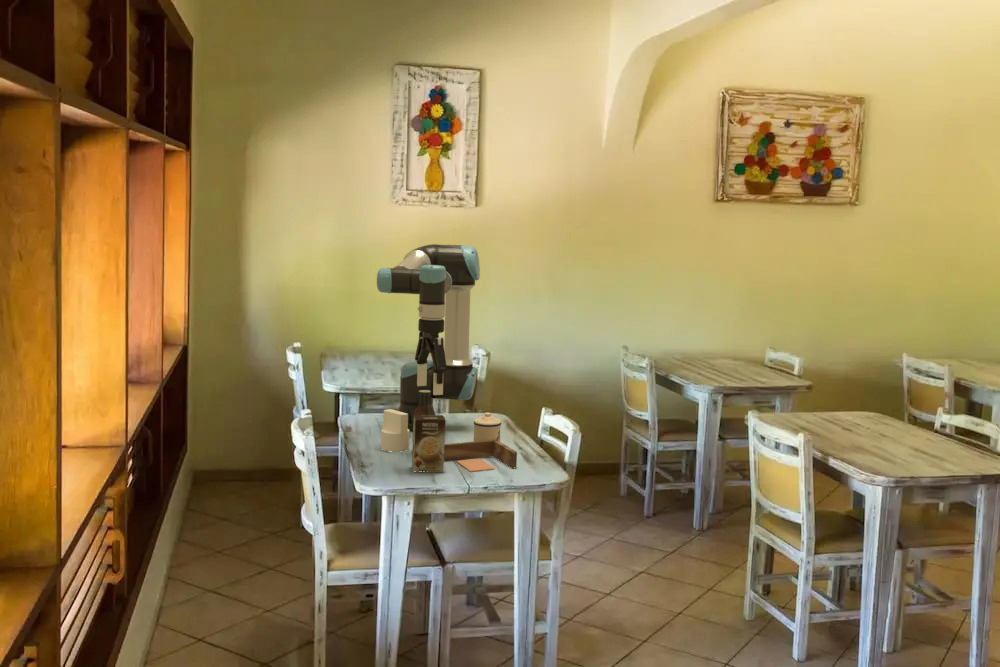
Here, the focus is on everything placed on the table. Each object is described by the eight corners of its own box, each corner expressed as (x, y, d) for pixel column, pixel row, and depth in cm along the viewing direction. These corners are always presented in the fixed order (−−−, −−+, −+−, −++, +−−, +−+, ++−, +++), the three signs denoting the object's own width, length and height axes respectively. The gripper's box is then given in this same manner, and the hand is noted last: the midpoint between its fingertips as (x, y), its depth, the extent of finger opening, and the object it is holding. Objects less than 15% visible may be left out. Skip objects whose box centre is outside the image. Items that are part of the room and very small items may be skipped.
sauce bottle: (427, 456, 278) (429, 394, 275) (409, 453, 280) (410, 391, 278) (436, 450, 284) (437, 390, 282) (418, 448, 286) (419, 388, 284)
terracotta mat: (456, 462, 273) (456, 460, 273) (480, 459, 276) (480, 458, 276) (470, 472, 263) (470, 470, 263) (494, 469, 266) (494, 468, 266)
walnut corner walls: (443, 459, 275) (443, 444, 274) (495, 454, 282) (496, 439, 282) (461, 473, 261) (462, 457, 261) (516, 467, 269) (517, 452, 268)
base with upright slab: (414, 448, 286) (415, 412, 284) (393, 453, 279) (394, 416, 278) (396, 443, 292) (397, 407, 290) (375, 447, 285) (375, 411, 284)
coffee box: (413, 473, 260) (414, 419, 258) (411, 466, 266) (412, 414, 264) (444, 472, 262) (445, 419, 260) (441, 466, 268) (443, 414, 266)
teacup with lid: (502, 451, 286) (503, 416, 285) (474, 451, 285) (475, 416, 283) (496, 441, 298) (498, 407, 297) (470, 441, 297) (471, 407, 295)
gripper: (405, 313, 267) (403, 382, 270) (434, 324, 245) (432, 399, 248) (428, 313, 270) (427, 381, 273) (459, 323, 248) (457, 397, 251)
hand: (429, 390), depth 261 cm, fingers open, 13 cm apart
